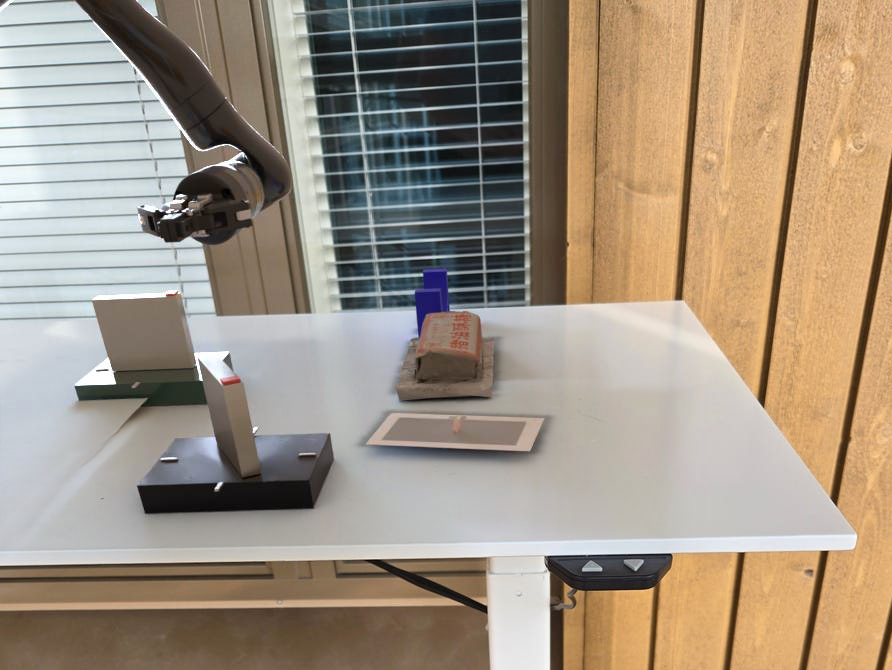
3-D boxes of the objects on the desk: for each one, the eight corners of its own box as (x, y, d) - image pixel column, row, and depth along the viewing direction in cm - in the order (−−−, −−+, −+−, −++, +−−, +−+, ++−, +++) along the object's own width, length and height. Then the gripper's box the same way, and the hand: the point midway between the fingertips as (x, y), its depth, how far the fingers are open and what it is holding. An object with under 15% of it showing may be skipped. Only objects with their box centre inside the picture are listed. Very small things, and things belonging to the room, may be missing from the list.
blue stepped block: (455, 342, 108) (452, 290, 105) (418, 343, 108) (414, 292, 105) (461, 315, 118) (458, 268, 114) (427, 317, 118) (423, 269, 115)
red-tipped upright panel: (216, 442, 78) (196, 353, 73) (234, 438, 78) (215, 350, 74) (242, 478, 71) (221, 383, 67) (261, 473, 71) (242, 379, 67)
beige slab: (111, 371, 96) (90, 297, 92) (117, 366, 98) (96, 293, 93) (192, 368, 96) (175, 293, 91) (197, 363, 97) (180, 289, 93)
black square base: (137, 522, 71) (128, 492, 69) (187, 457, 82) (180, 429, 80) (310, 517, 70) (304, 486, 69) (337, 452, 81) (332, 424, 80)
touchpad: (530, 462, 77) (529, 439, 76) (366, 455, 80) (364, 432, 79) (544, 429, 83) (544, 407, 82) (392, 423, 86) (390, 402, 85)
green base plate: (75, 413, 93) (67, 389, 92) (120, 373, 104) (114, 350, 102) (205, 409, 92) (199, 384, 91) (237, 369, 103) (232, 346, 102)
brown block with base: (407, 309, 103) (493, 306, 103) (411, 351, 106) (494, 348, 105) (391, 356, 88) (491, 352, 88) (396, 403, 91) (493, 399, 91)
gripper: (153, 170, 102) (94, 193, 87) (266, 164, 101) (225, 187, 87) (169, 240, 106) (115, 273, 92) (278, 235, 105) (241, 268, 91)
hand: (169, 231), depth 89 cm, fingers closed
